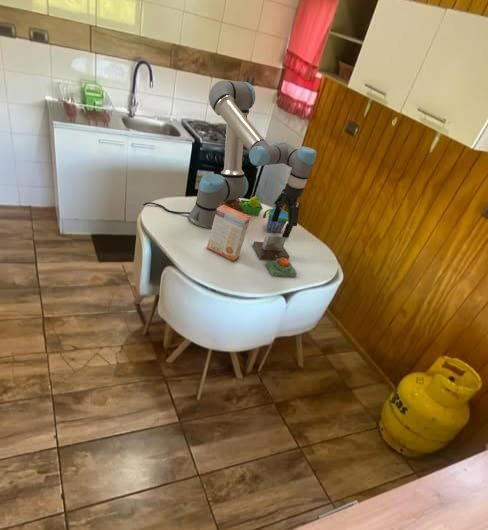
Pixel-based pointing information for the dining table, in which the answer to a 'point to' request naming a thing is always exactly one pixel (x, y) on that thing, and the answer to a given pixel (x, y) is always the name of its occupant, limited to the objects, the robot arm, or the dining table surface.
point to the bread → (233, 204)
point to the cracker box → (228, 232)
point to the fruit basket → (251, 206)
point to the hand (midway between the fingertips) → (279, 228)
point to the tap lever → (273, 242)
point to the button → (283, 262)
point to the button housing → (280, 269)
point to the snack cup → (277, 226)
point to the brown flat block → (269, 252)
